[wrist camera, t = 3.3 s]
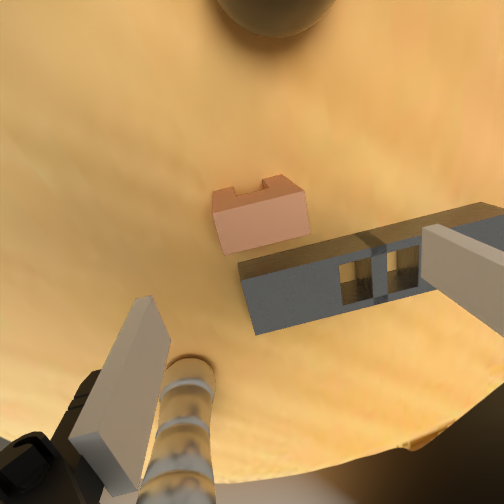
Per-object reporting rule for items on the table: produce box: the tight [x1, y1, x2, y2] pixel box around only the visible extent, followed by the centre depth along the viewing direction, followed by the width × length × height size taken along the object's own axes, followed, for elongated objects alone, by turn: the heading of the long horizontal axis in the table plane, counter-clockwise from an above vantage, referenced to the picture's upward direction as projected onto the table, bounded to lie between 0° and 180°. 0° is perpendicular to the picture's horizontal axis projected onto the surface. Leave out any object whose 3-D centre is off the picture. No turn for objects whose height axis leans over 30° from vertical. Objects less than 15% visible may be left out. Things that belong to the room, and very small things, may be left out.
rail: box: [238, 202, 504, 335], centre depth 32 cm, size 28×7×4 cm, turn 103°
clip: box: [212, 175, 310, 256], centre depth 26 cm, size 7×4×8 cm, turn 103°
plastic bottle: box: [136, 358, 216, 504], centre depth 28 cm, size 6×7×20 cm
